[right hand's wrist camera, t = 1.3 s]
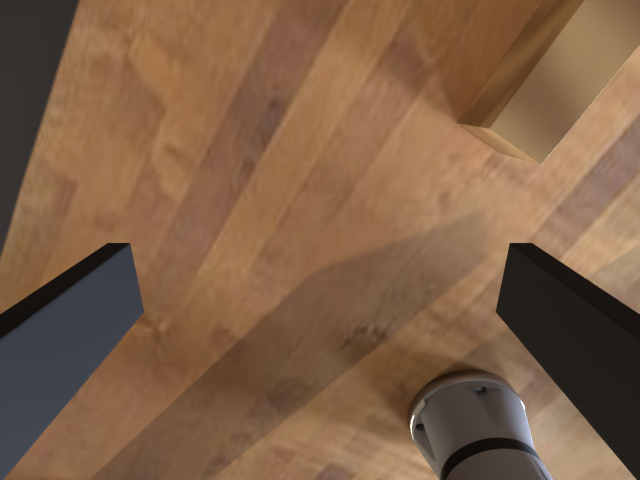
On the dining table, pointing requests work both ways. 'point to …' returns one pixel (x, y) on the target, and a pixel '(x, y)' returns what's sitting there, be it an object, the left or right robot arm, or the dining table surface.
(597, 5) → the post
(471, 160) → the dining table surface
